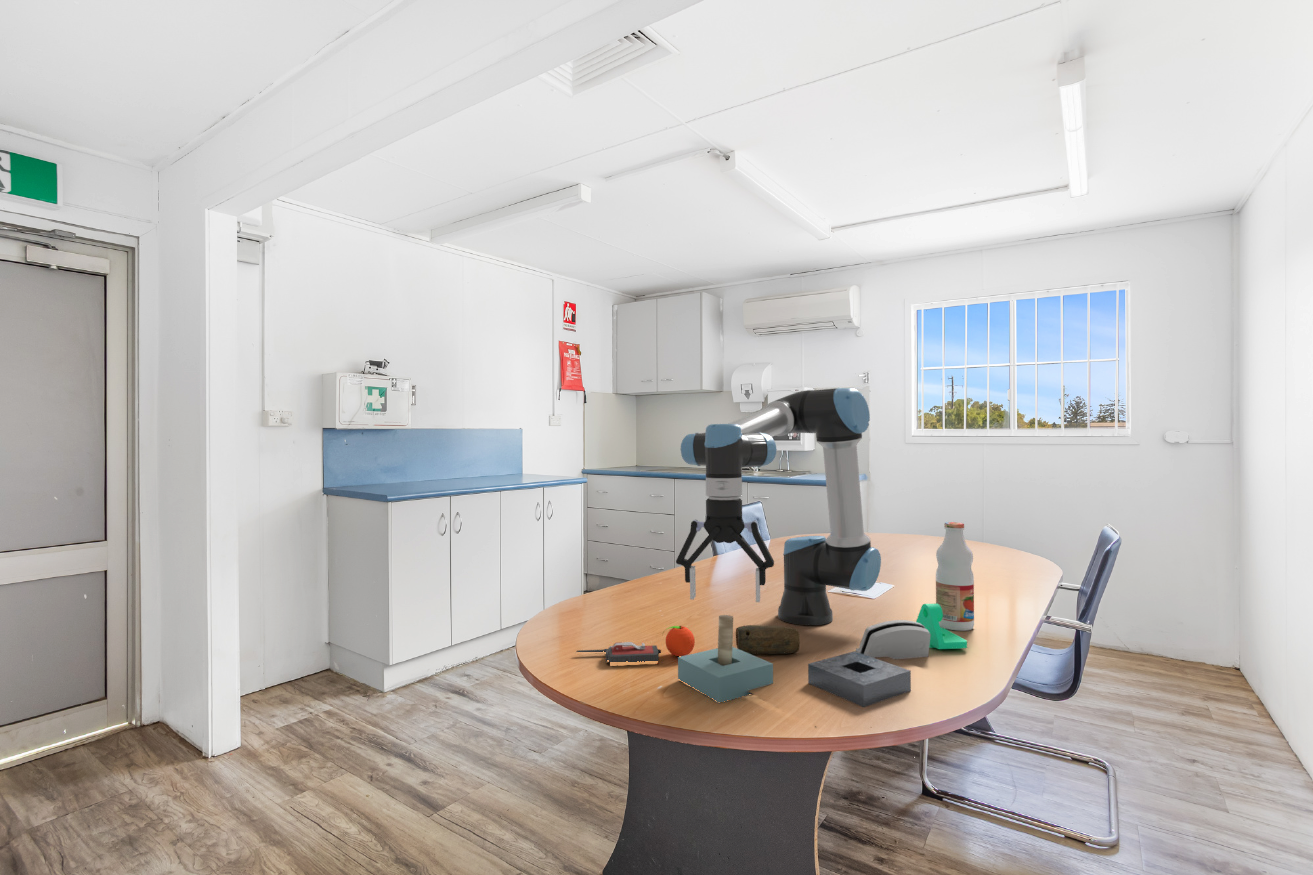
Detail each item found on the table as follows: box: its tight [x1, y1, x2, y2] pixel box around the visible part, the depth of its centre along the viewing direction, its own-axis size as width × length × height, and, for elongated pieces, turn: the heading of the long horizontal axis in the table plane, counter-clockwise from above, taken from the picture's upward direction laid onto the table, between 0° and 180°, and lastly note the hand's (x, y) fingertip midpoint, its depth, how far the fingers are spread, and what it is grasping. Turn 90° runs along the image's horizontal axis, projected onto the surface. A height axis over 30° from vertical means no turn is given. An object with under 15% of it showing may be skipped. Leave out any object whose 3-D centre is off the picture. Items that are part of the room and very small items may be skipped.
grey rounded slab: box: [855, 619, 930, 660], centre depth 150 cm, size 17×5×10 cm, turn 103°
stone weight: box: [735, 624, 801, 655], centre depth 154 cm, size 15×7×7 cm, turn 95°
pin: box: [717, 614, 734, 666], centre depth 134 cm, size 3×3×13 cm
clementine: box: [662, 625, 696, 657], centre depth 152 cm, size 8×7×7 cm
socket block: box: [677, 646, 774, 703], centre depth 134 cm, size 14×14×5 cm
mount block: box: [807, 650, 912, 708], centre depth 130 cm, size 14×14×5 cm
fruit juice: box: [935, 521, 975, 632], centre depth 175 cm, size 9×9×28 cm
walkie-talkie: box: [575, 641, 662, 663], centre depth 150 cm, size 9×4×20 cm
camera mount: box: [915, 602, 968, 650], centre depth 160 cm, size 12×8×10 cm, turn 5°
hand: (725, 599), depth 135 cm, fingers open, 13 cm apart
